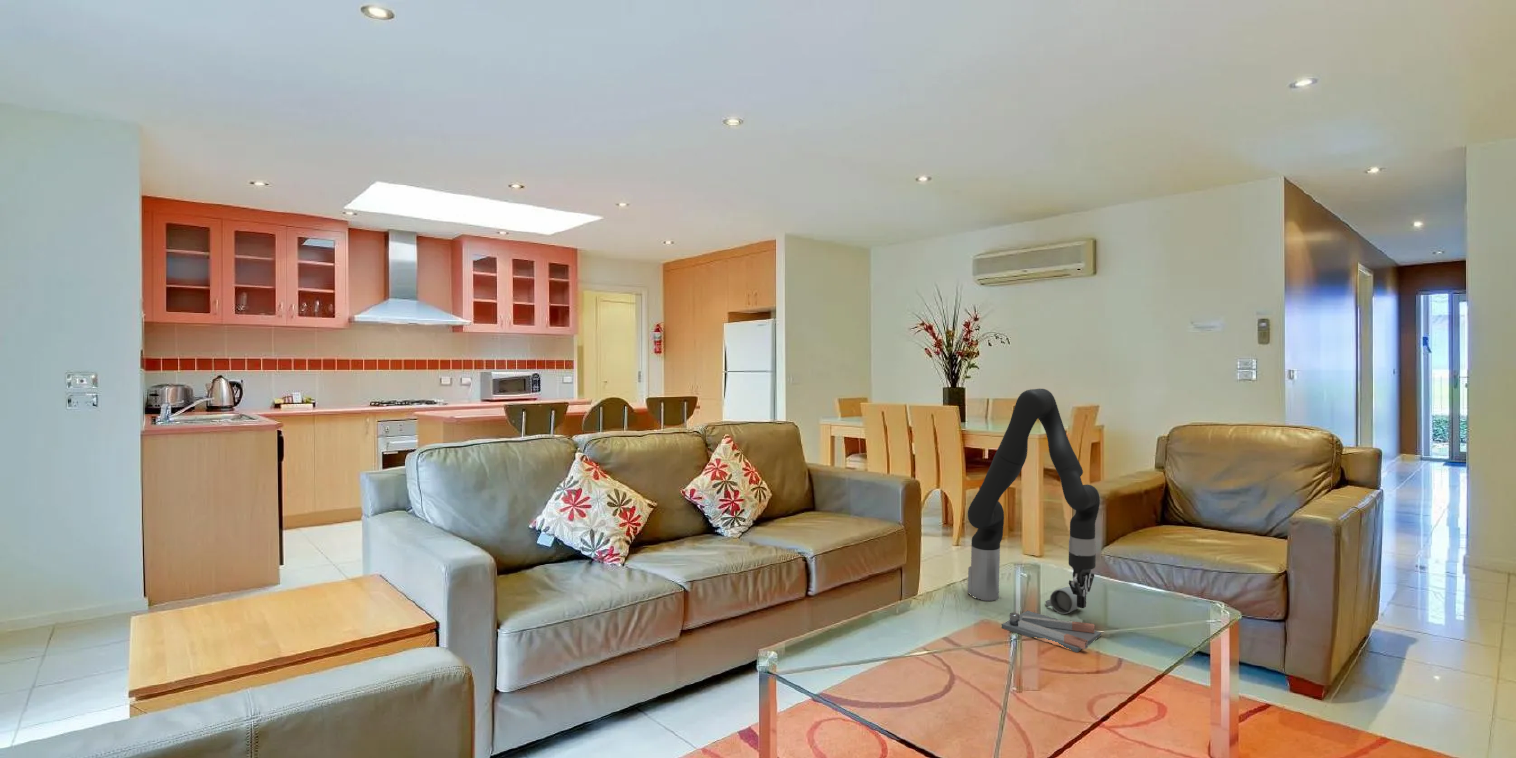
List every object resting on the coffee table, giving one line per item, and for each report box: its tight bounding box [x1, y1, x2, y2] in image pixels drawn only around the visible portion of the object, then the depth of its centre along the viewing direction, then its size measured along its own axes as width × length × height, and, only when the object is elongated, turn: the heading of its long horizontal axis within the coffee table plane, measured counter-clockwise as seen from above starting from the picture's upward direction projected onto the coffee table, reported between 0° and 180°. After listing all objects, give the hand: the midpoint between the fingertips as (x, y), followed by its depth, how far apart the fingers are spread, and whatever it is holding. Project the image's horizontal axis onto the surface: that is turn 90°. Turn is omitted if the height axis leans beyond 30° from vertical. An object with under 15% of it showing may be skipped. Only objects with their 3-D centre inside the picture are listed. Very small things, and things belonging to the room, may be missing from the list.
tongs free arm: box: [1022, 616, 1095, 633], centre depth 222 cm, size 20×2×2 cm, turn 71°
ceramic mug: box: [1045, 586, 1080, 615], centre depth 240 cm, size 11×8×8 cm
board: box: [1001, 610, 1102, 653], centre depth 222 cm, size 23×16×1 cm
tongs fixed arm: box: [1009, 612, 1089, 650], centre depth 217 cm, size 24×3×3 cm, turn 43°
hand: (1081, 607), depth 225 cm, fingers closed
